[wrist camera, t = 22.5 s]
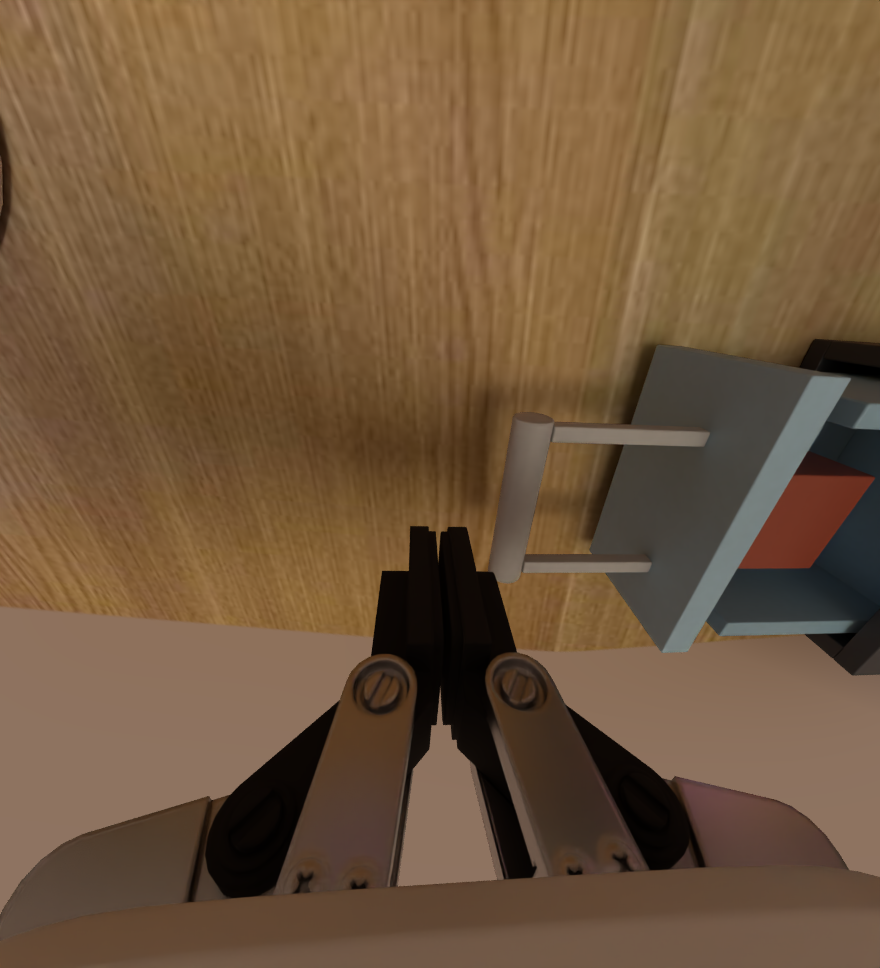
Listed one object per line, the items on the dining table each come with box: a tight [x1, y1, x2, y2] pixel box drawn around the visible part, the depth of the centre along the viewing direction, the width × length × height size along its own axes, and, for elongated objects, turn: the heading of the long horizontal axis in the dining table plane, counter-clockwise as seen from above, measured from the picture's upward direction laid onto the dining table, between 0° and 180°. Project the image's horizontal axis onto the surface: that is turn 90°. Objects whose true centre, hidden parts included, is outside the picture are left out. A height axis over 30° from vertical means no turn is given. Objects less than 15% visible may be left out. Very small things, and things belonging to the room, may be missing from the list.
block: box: [737, 451, 875, 569], centre depth 16 cm, size 4×4×4 cm
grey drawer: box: [488, 345, 880, 653], centre depth 15 cm, size 19×11×7 cm, turn 86°
